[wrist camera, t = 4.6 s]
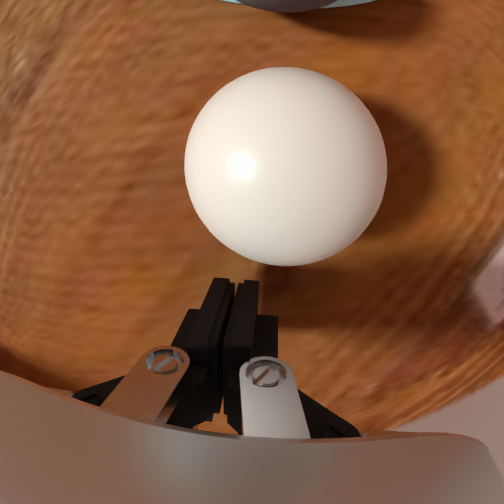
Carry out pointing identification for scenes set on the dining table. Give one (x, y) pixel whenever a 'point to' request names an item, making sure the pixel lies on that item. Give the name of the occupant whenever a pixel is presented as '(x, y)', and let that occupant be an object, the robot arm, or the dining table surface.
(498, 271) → the dining table surface
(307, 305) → the dining table surface
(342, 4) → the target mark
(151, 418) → the robot arm
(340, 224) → the cue ball
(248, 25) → the dining table surface
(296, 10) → the object ball
